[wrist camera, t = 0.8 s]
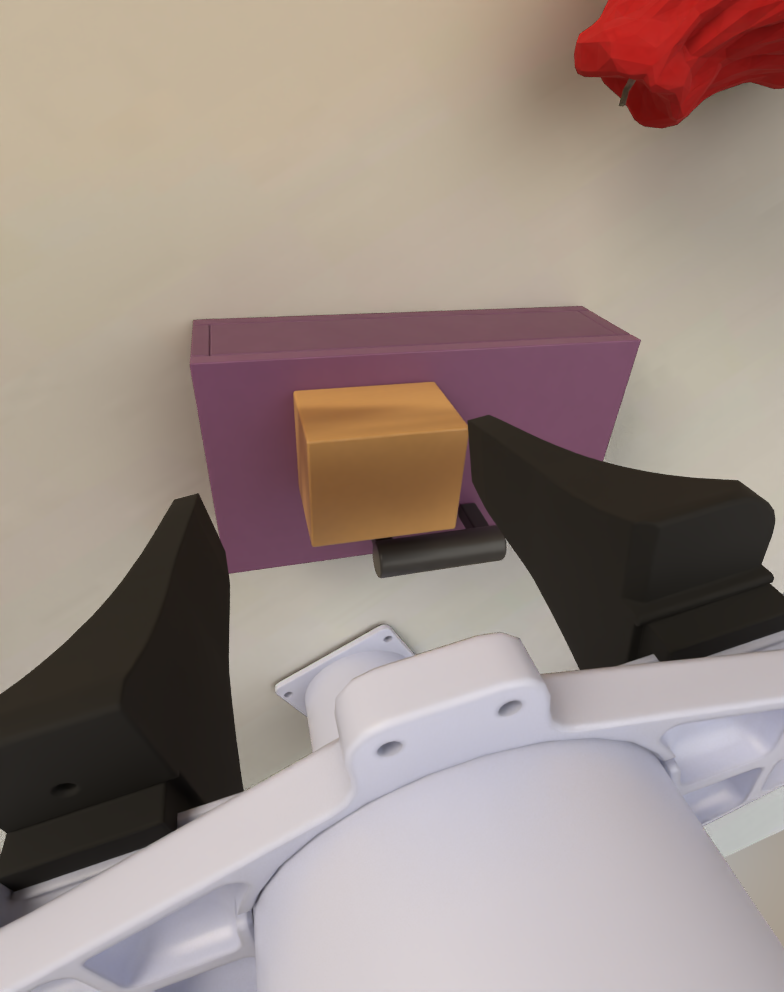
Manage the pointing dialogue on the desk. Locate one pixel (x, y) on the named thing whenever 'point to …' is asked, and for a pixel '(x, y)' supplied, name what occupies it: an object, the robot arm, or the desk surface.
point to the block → (378, 461)
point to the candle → (681, 52)
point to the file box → (393, 330)
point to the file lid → (453, 367)
